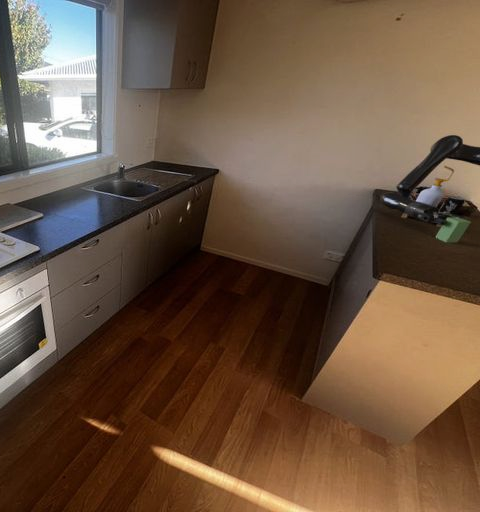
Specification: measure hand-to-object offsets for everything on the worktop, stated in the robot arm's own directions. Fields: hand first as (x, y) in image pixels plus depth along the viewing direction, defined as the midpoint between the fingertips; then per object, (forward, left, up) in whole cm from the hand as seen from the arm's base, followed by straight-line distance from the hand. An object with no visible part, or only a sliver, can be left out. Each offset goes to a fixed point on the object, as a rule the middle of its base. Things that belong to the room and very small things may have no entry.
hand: (455, 223), depth 129 cm
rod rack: (+14, -22, -8) cm, 27 cm away
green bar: (0, 0, -8) cm, 8 cm away
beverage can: (+10, -34, -8) cm, 36 cm away
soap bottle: (+21, -43, -8) cm, 48 cm away
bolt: (+13, -55, -8) cm, 57 cm away
